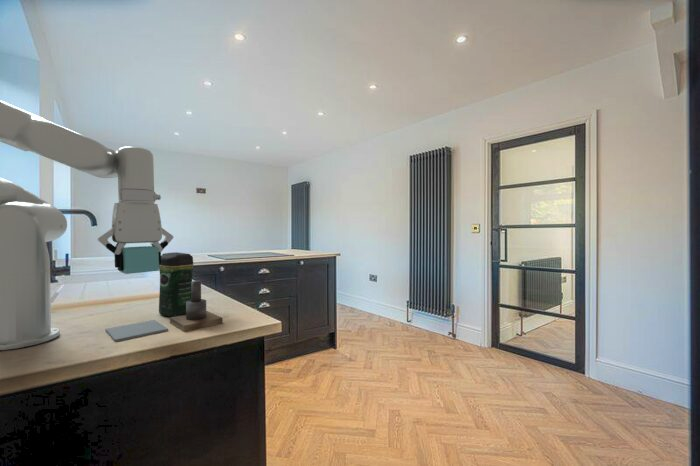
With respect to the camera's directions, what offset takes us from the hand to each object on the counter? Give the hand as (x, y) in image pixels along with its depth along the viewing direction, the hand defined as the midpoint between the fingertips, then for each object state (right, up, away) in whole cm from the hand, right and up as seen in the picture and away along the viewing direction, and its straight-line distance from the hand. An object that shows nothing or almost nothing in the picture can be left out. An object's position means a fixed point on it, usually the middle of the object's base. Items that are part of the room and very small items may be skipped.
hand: (138, 268), depth 80 cm
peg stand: (+11, -16, +7) cm, 21 cm away
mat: (-1, -16, 0) cm, 16 cm away
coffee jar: (+1, -16, +16) cm, 23 cm away
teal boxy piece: (0, -1, 0) cm, 1 cm away
